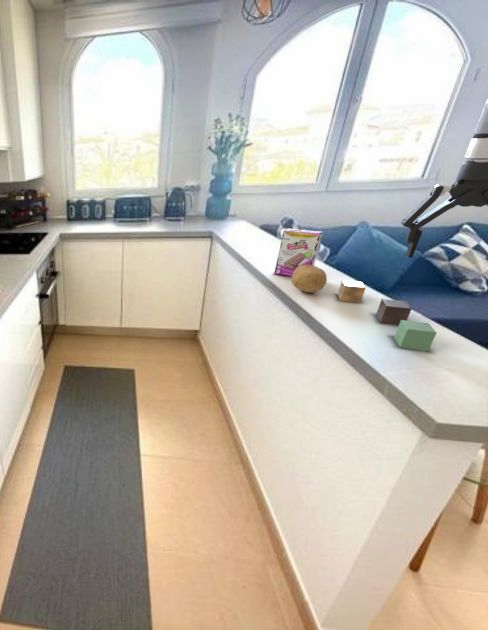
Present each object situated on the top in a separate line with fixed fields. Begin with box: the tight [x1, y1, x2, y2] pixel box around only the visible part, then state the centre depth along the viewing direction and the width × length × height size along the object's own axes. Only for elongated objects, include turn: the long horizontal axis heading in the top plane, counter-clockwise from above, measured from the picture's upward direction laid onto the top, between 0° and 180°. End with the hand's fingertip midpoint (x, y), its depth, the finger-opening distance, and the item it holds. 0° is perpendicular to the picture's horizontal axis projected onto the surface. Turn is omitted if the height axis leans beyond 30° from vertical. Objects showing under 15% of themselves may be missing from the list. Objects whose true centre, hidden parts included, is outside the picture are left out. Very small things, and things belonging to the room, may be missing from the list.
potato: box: [291, 264, 328, 293], centre depth 113 cm, size 10×14×8 cm
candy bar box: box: [274, 227, 324, 278], centre depth 123 cm, size 11×5×16 cm, turn 46°
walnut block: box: [375, 298, 412, 326], centre depth 92 cm, size 5×5×5 cm
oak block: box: [337, 279, 366, 304], centre depth 105 cm, size 5×5×5 cm
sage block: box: [393, 320, 437, 352], centre depth 81 cm, size 5×5×5 cm
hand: (447, 258), depth 81 cm, fingers open, 13 cm apart
